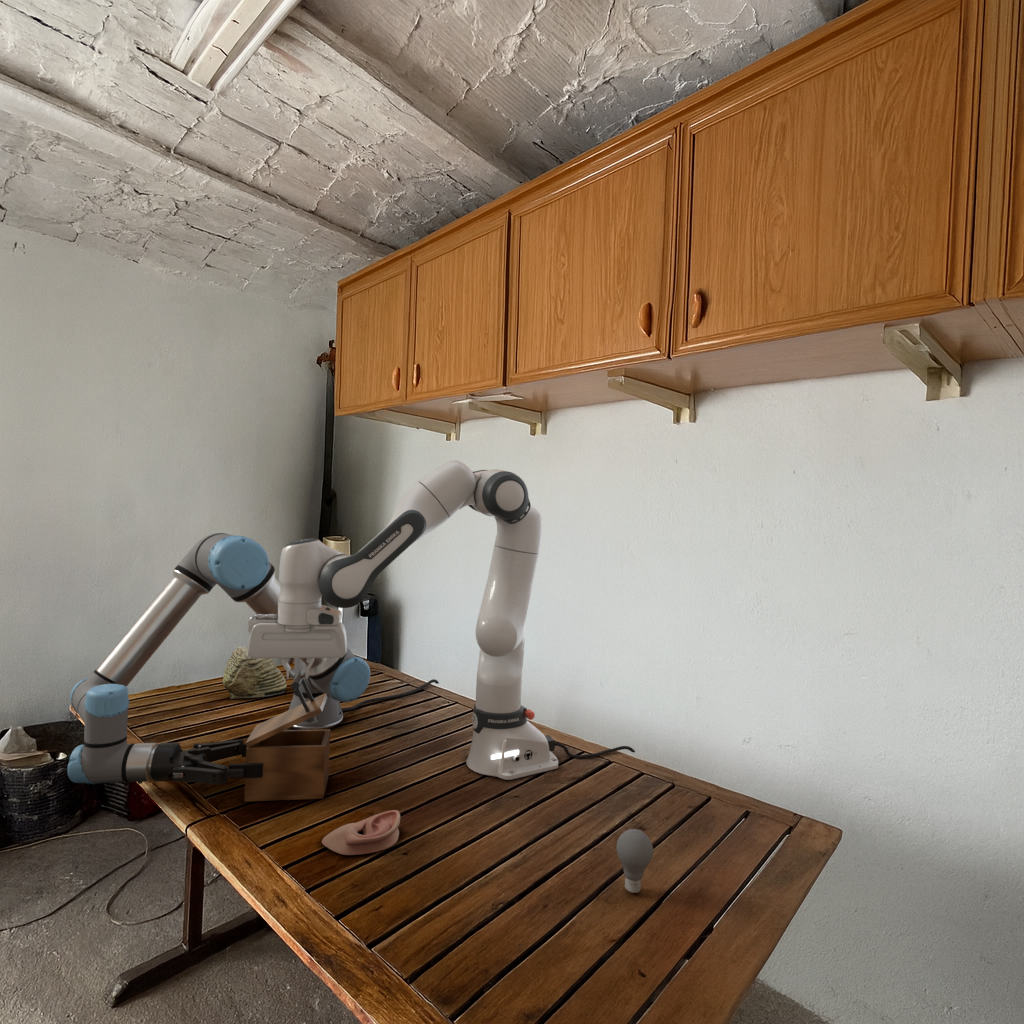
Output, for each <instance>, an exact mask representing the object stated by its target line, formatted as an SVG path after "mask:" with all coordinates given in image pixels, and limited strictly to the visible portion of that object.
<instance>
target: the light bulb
mask: <svg viewBox="0 0 1024 1024" xmlns="http://www.w3.org/2000/svg"><path fill="white" fill-rule="evenodd" d="M615 849H616V854H617V857H618V859H619V861H620V863H621V865H622V867H623V873H624V874H623V875H624V876H625V878H624V888H625V890H627V891H628V892H630V893H634V894H635V893H639V892H640V891H641V889H642V887H641V886H642V879H643V877H644V875H645V871H646V868H647V867H648V866H649V864H650V863H651V861H652V859H653V855H654V847H653V843H652V841H651V838H649V836H648V835H647V834H646V833H645V832H643V831H642V830H641V829H636V828H629V829H627V830H625V831H623V832H622V833H621V834H620V835H619V837H618V839H617V841H616V847H615Z"/></svg>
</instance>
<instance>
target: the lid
mask: <svg viewBox="0 0 1024 1024" xmlns="http://www.w3.org/2000/svg"><path fill="white" fill-rule="evenodd" d="M301 683H302V685H303V687H304V689H305V691H306V693H307V695H308V697H309V699H310V700H309V701H307V702H306V701H305V699H304V697H303V695H302V693H301V690H300V688H299V686H300V685H301ZM290 687H291V689H292V690H293V691H294V690H296V692H297V694H298V696H299V698H300V700H301V702H302V704H301V705H299V706H297V707H295V708H292V709H290V710H289V709H288V710H286V711H284V712H281V713H280V714H278V715H275V716H274V717H271V718H269V719H266V720H265V721H263V722H261V723H258V724H257V725H255V727H254V728H253V729H252V731H251V733H250V734H249V736H248V738H247V740H246V741H245V744H246V745H247V747H250V746H252V745H254V744H256V743H259V742H261V741H263V740H265V739H267V738H269V737H271V736H273V735H275V734H278V733H280V732H282V731H284V730H289V728H290V727H292V726H294V725H297V724H299V723H301V722H303V721H305V720H307V719H309V718H311V717H313V716H316V715H318V714H320V713H322V711H323V709H324V706H325V703H326V700H327V695H326V693H324V694H322V695H320V696H318V697H316V698H313V696H312V694H311V692H310V690H309V688H308V686H307V684H306V682H305V679H301V672H299V673H298V674H297V676H296V678H295V679H293V682H292V683H291V685H290Z"/></svg>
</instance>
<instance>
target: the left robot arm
mask: <svg viewBox="0 0 1024 1024" xmlns="http://www.w3.org/2000/svg"><path fill="white" fill-rule="evenodd" d="M276 570H277V569H276V567H275V566H274V565H273V564H272V563H271V561H270V559H269V555H268V553H267V551H266V550H265V548H264V547H263V546H262V545H261V544H260V543H258V542H257V541H256V540H254V539H253V538H250V537H247V536H244V535H235V534H229V533H225V532H215V533H211V534H208V535H205V536H204V537H203V538H201V539H200V540H198V541H197V542H196V543H195V544H194V545H193V546H192V548H191V549H190V550H188V551H187V553H186V554H185V556H183V558H181V560H180V561H179V563H178V564H177V565H176V566H175V567H174V569H173V570H172V575H173V576H172V577H171V579H170V580H169V581H168V583H166V585H165V586H164V588H162V590H161V591H160V593H158V594H157V596H156V597H155V598H154V599H153V601H152V602H151V603H150V604H149V605H148V606H147V607H146V609H145V610H144V611H143V612H142V614H141V615H140V616H139V617H138V618H137V620H136V621H135V622H134V623H133V625H132V626H130V628H129V629H128V630H127V632H126V633H125V634H124V635H123V636H122V638H121V639H120V640H119V641H118V642H117V644H115V646H113V649H112V650H111V651H110V652H109V653H108V654H107V656H106V657H105V658H104V659H103V660H102V661H101V662H100V664H99V665H98V666H97V667H96V668H95V669H94V670H93V671H92V673H91V674H90V675H89V676H88V677H85V678H83V679H81V680H79V681H78V682H77V683H76V684H75V685H74V686H73V687H72V689H71V691H70V693H69V694H70V695H69V700H70V704H71V707H72V708H73V710H74V711H75V712H76V713H77V715H78V716H79V717H80V720H82V722H83V724H84V727H83V729H84V730H83V731H84V733H83V736H84V737H83V739H84V740H83V744H80V745H78V746H76V747H75V748H74V749H73V750H72V752H71V754H70V756H69V758H68V760H69V761H68V764H67V776H68V778H69V780H70V781H71V782H72V783H74V784H90V785H99V784H114V783H116V784H118V783H137V784H139V785H141V784H143V783H147V782H152V781H153V782H154V783H155V782H156V783H157V782H161V783H162V782H173V783H174V782H189V783H199V784H200V783H201V784H208V785H209V784H210V785H220V784H221V785H225V784H228V779H245V778H262V776H263V763H247V764H246V762H245V763H229V764H228V766H227V765H224V764H220V763H215V761H220V760H224V759H228V758H234V757H238V756H241V758H246V748H247V745H246V743H244V739H243V738H239V739H231V740H222V741H214V742H207V743H205V742H202V743H201V742H200V743H199V742H197V743H193V745H192V748H189V749H185V750H183V749H182V747H181V745H180V744H179V743H178V742H161V743H160V744H159V743H157V742H141V743H140V742H138V743H129V742H128V722H129V707H130V700H129V699H130V698H129V689H128V685H129V684H130V683H131V682H132V681H133V679H134V678H136V676H137V675H138V674H139V672H140V671H141V670H142V669H143V667H145V665H146V663H147V662H148V661H149V660H150V659H151V657H152V656H153V655H154V654H155V653H156V651H158V649H159V648H160V646H162V644H163V643H164V642H165V641H166V639H167V638H168V636H169V635H170V634H171V633H172V632H173V631H174V629H175V628H176V627H177V626H178V625H179V624H180V622H181V621H182V620H183V618H184V617H185V616H186V615H187V614H188V612H189V611H190V610H191V608H192V607H193V606H194V605H195V604H196V602H198V600H199V598H201V596H203V595H209V593H210V592H211V591H212V589H214V587H216V586H219V587H220V589H222V591H224V593H226V594H227V595H228V596H229V598H231V600H233V601H234V603H245V604H246V605H247V606H248V607H249V608H250V609H251V610H252V611H253V612H254V613H255V615H256V614H278V598H279V595H280V584H279V580H278V579H277V578H276ZM308 664H309V663H307V658H294V668H293V669H295V672H294V673H295V677H294V679H295V678H296V676H297V674H298V673H299V672H301V670H302V669H306V667H307V666H308ZM370 677H371V669H370V665H369V664H368V662H367V661H365V660H364V658H362V657H360V656H356V655H355V654H354V653H353V652H352V651H351V650H350V649H349V648H348V647H347V652H346V654H345V655H344V656H343V657H342V658H315V660H314V662H313V664H312V666H311V667H310V669H309V677H308V678H305V682H306V684H307V686H308V688H309V690H310V692H311V694H312V696H313V698H316V697H318V696H320V695H322V694H324V693H326V695H327V700H326V703H325V706H324V709H323V711H322V713H320V714H318V715H316V716H313V717H311V718H309V719H307V720H305V721H303V722H301V723H299V724H297V725H294V726H292V727H290V728H288V730H313V729H330V730H332V729H335V728H337V727H339V726H340V725H342V723H343V722H344V714H343V712H351V711H353V710H356V709H358V708H360V707H362V706H364V705H366V704H370V703H373V702H379V701H387V700H392V699H393V700H394V699H397V698H401V697H402V698H403V697H406V696H410V695H412V694H415V693H417V692H419V691H421V690H423V689H424V688H426V687H428V686H429V685H431V684H433V683H435V684H437V685H438V684H440V682H439V681H438V680H437V679H435V678H433V679H431V680H428V681H427V682H426V683H423V684H421V685H420V686H418V687H416V688H414V689H411V690H409V691H405V692H401V693H396V694H392V695H387V696H380V697H373V698H368V699H365V700H363V701H361V702H360V701H359V702H358V703H356V704H355V705H352V706H350V707H349V706H348V707H342V706H341V703H350V702H353V701H355V700H357V699H359V698H360V697H361V696H362V695H363V694H364V693H365V691H366V690H367V688H368V686H369V684H370V681H371V680H370ZM294 679H293V680H294ZM299 688H300V690H301V693H302V695H303V697H304V699H305V701H306V702H307V701H309V700H310V699H309V697H308V695H307V693H306V691H305V689H304V687H303V685H302V683H301V685H300V686H299ZM292 696H293V697H292V699H291V701H290V702H289V705H288V706H289V708H288V710H290V709H292V708H295V707H297V706H299V705H301V704H302V702H301V700H300V698H299V696H298V694H297V692H296V690H294V689H293V695H292Z"/></svg>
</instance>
